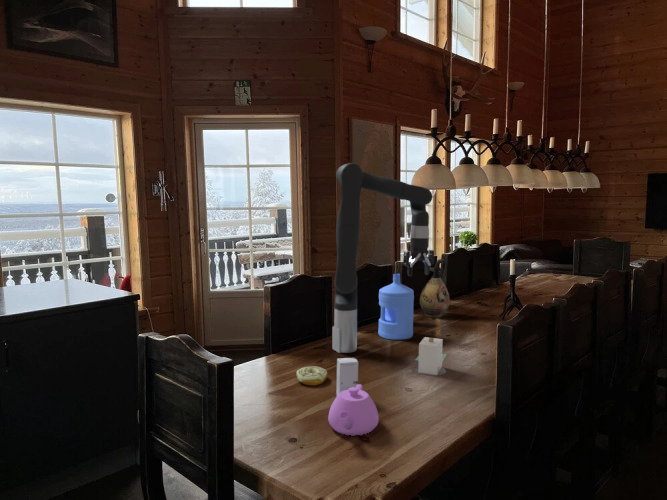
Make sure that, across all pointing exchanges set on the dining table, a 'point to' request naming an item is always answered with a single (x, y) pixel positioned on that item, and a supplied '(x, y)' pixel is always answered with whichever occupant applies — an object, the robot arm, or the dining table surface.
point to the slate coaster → (431, 374)
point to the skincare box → (346, 374)
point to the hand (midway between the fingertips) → (418, 275)
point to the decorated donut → (311, 375)
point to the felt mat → (442, 357)
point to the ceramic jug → (435, 293)
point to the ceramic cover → (430, 355)
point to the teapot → (353, 412)
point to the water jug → (396, 311)
